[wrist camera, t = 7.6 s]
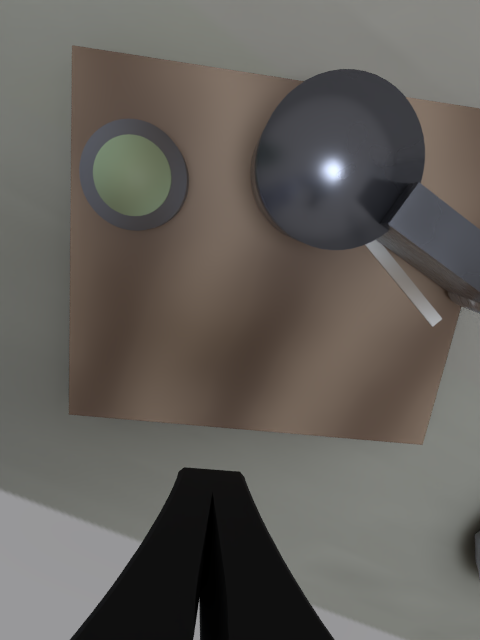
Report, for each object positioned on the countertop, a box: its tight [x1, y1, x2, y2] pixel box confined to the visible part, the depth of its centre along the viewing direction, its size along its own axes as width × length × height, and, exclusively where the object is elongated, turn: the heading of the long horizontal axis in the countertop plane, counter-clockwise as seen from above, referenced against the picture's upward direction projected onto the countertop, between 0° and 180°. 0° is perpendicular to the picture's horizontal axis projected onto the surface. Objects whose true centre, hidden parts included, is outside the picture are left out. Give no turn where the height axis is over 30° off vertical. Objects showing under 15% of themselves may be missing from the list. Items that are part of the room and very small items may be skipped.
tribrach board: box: [69, 45, 480, 445], centre depth 16 cm, size 16×14×2 cm
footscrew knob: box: [251, 69, 480, 314], centre depth 13 cm, size 11×5×4 cm, turn 57°
